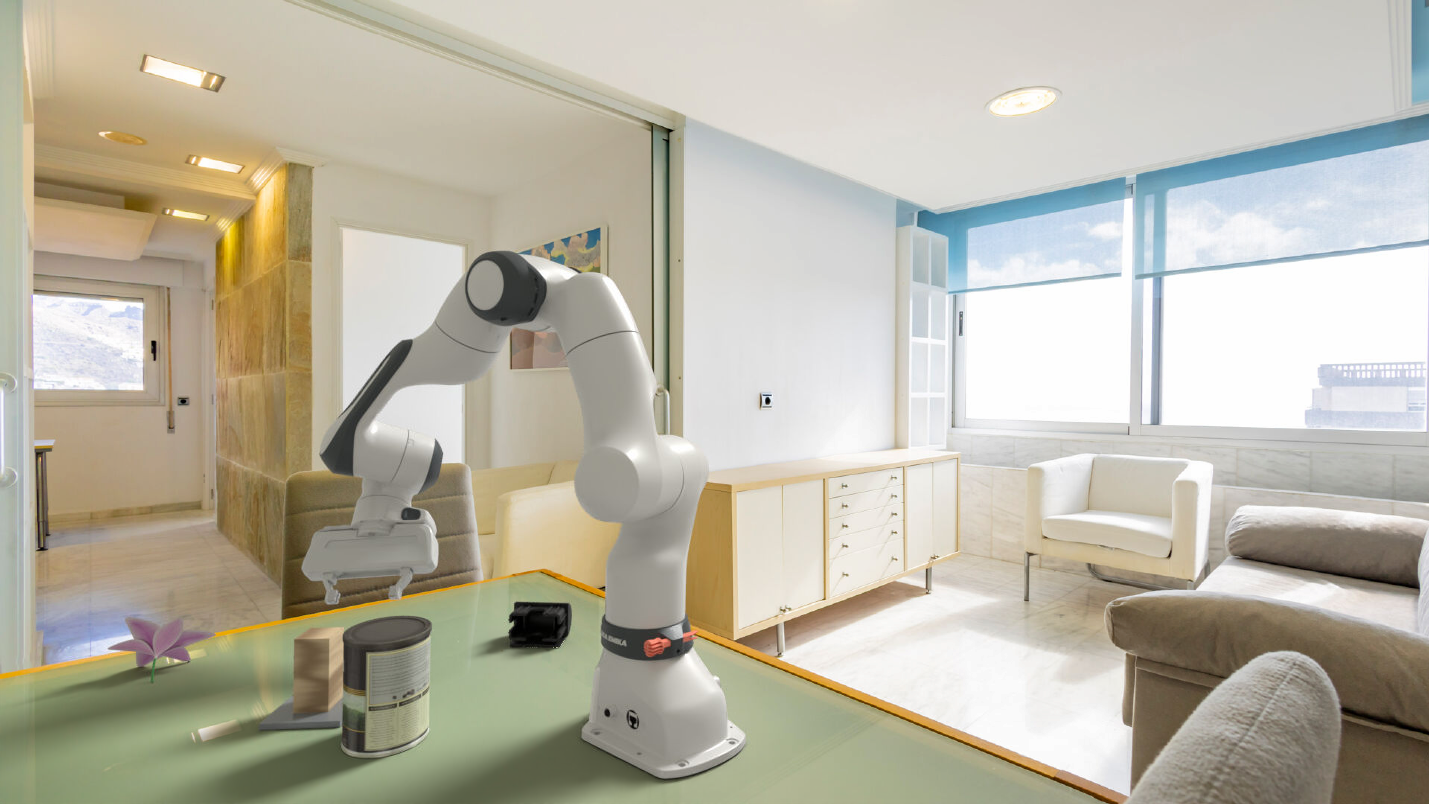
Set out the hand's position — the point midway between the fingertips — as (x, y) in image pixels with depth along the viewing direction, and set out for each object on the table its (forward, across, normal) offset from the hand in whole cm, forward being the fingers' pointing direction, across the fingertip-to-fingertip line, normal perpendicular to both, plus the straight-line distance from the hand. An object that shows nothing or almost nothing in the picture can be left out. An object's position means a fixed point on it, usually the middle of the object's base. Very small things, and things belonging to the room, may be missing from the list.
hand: (362, 600), depth 104 cm
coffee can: (+23, +10, -8) cm, 27 cm away
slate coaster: (+17, -2, -2) cm, 17 cm away
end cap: (+2, +25, +18) cm, 31 cm away
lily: (+6, -31, +9) cm, 33 cm away
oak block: (+16, -2, -3) cm, 17 cm away
